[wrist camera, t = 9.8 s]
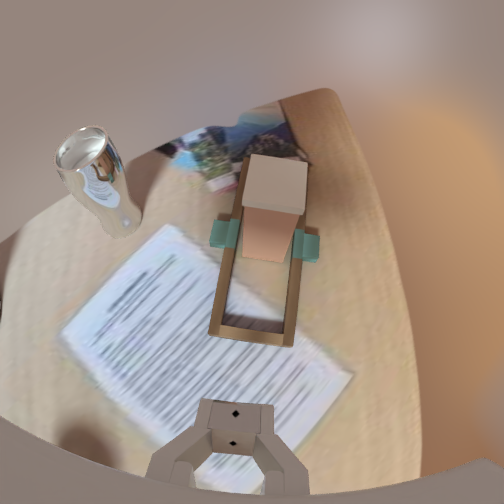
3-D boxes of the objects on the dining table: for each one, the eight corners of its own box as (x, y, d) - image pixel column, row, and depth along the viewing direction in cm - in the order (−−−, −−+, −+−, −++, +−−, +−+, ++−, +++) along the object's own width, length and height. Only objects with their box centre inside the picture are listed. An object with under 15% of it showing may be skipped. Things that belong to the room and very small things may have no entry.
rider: (240, 257, 37) (242, 199, 25) (247, 220, 39) (251, 153, 27) (283, 264, 37) (304, 209, 25) (288, 226, 39) (307, 162, 27)
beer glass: (133, 190, 41) (99, 114, 27) (153, 223, 38) (118, 147, 25) (93, 215, 39) (47, 147, 25) (110, 251, 37) (57, 186, 23)
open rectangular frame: (192, 332, 33) (190, 330, 32) (230, 162, 43) (230, 155, 42) (307, 349, 33) (310, 348, 31) (319, 176, 43) (321, 169, 42)
